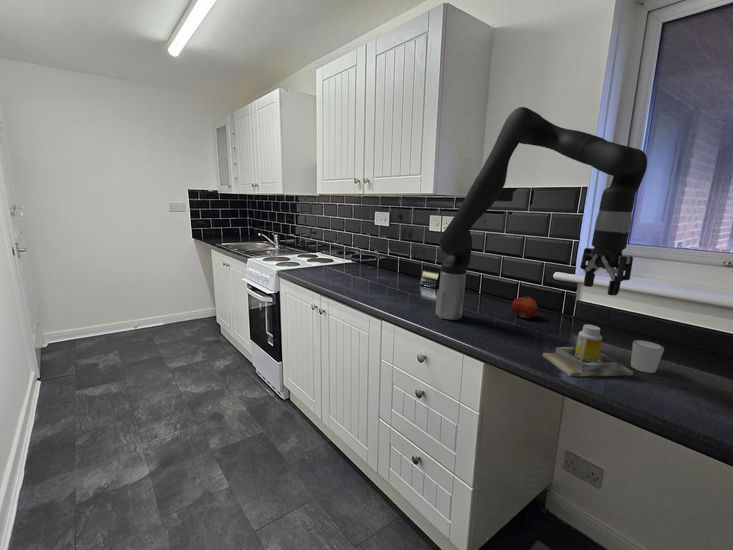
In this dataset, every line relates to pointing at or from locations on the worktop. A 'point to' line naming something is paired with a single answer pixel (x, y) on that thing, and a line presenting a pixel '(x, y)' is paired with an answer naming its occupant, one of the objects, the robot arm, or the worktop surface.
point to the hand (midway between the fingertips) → (599, 290)
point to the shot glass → (646, 356)
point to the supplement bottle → (588, 344)
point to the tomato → (524, 307)
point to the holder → (585, 364)
